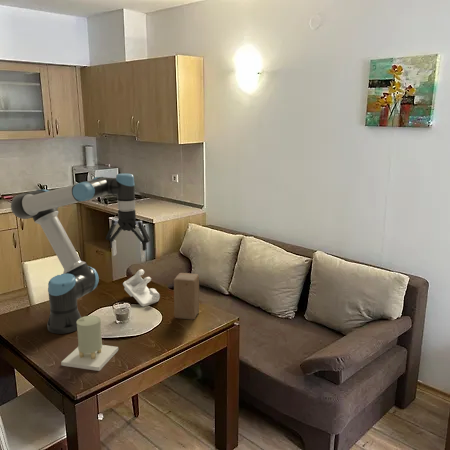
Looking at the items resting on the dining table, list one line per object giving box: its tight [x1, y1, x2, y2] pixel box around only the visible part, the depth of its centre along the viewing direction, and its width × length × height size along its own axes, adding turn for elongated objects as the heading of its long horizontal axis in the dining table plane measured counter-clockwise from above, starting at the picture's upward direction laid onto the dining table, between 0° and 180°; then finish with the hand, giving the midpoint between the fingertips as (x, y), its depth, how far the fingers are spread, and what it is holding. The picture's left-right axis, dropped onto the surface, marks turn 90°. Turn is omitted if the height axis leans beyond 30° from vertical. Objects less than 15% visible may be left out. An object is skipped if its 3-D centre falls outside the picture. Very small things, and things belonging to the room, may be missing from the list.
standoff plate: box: [60, 344, 119, 372], centre depth 183 cm, size 16×16×4 cm
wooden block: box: [173, 272, 200, 320], centre depth 220 cm, size 10×10×20 cm
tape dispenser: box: [122, 268, 161, 308], centre depth 239 cm, size 20×11×13 cm, turn 49°
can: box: [76, 315, 103, 353], centre depth 181 cm, size 9×9×12 cm
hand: (128, 256), depth 205 cm, fingers open, 13 cm apart
